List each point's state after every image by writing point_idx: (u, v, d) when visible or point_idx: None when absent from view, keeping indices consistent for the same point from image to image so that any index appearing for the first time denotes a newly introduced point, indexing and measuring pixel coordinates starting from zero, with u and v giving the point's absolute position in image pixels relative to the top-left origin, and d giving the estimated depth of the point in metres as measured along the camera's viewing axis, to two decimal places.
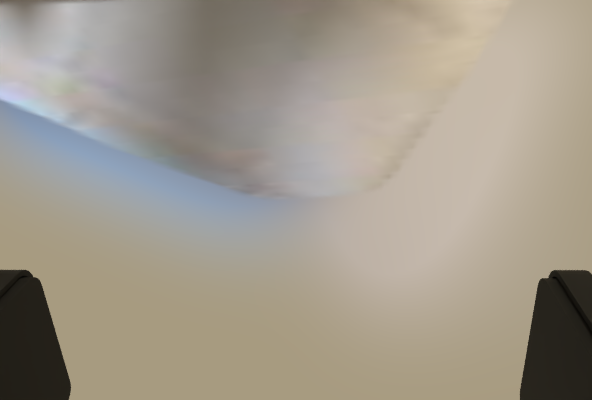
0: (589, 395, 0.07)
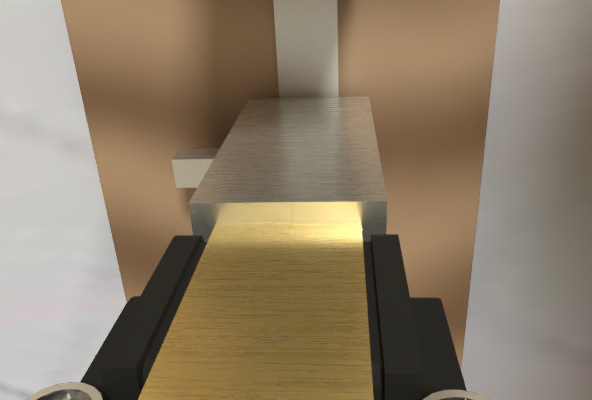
0: None
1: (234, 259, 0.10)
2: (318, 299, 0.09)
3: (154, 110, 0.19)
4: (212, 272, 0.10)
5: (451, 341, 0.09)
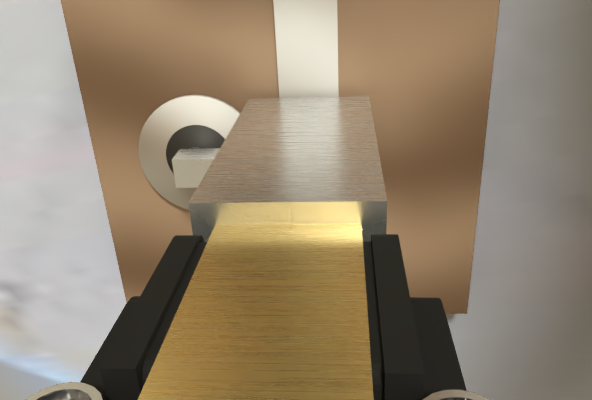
0: None
1: (234, 259, 0.10)
2: (318, 299, 0.09)
3: None
4: (212, 272, 0.10)
5: (451, 341, 0.09)
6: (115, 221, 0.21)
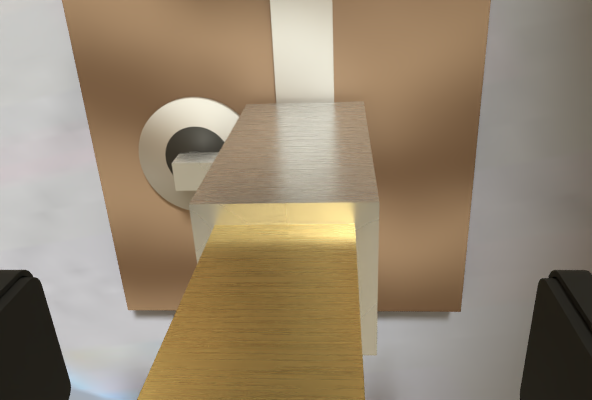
0: (589, 395, 0.07)
1: (233, 258, 0.10)
2: (313, 294, 0.09)
3: None
4: (212, 269, 0.10)
5: None
6: (115, 221, 0.22)
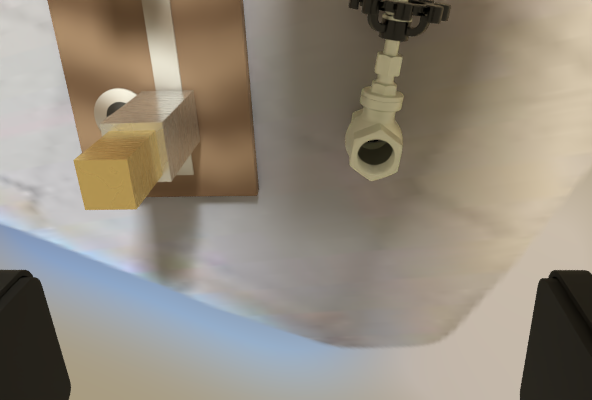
0: (589, 395, 0.07)
1: (110, 138, 0.33)
2: (128, 144, 0.32)
3: (81, 0, 0.39)
4: (102, 140, 0.33)
5: None
6: (84, 149, 0.44)
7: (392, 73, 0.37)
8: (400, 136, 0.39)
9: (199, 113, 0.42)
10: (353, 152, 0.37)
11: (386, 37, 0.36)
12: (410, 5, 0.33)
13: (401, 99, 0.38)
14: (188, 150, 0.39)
